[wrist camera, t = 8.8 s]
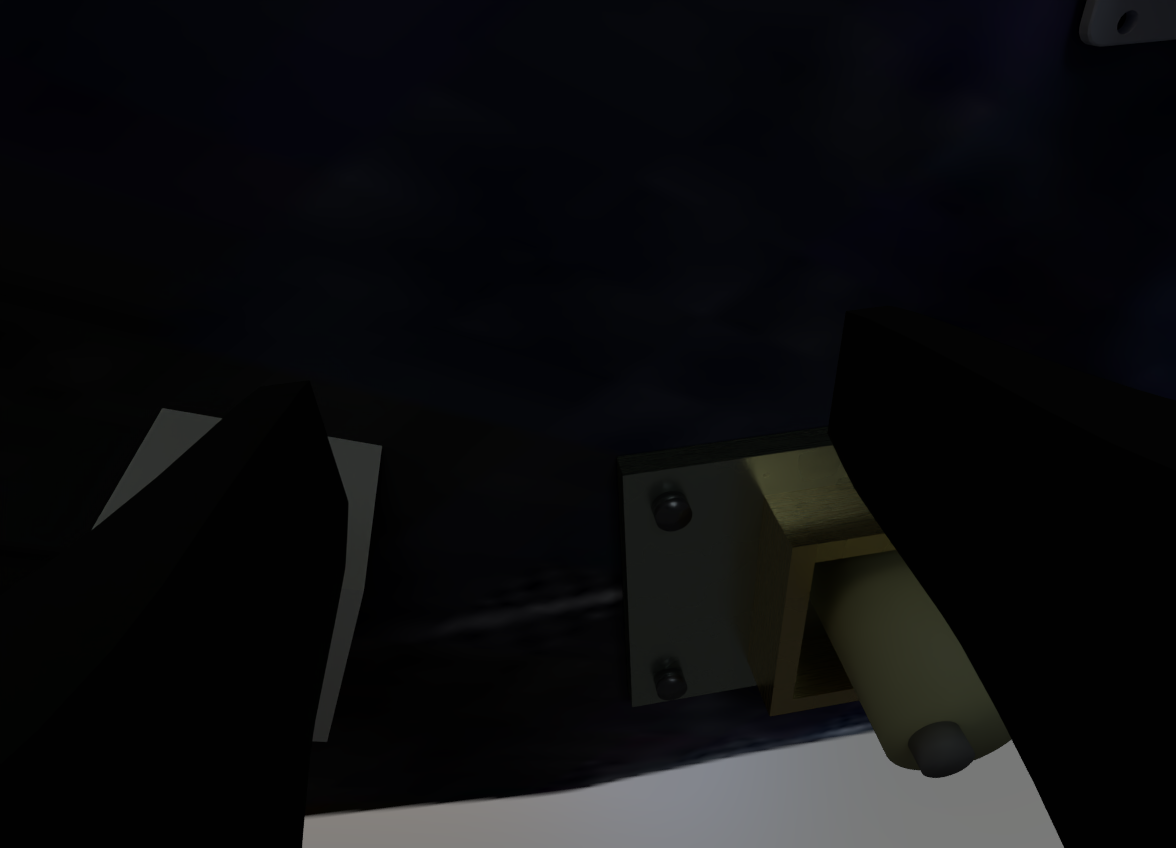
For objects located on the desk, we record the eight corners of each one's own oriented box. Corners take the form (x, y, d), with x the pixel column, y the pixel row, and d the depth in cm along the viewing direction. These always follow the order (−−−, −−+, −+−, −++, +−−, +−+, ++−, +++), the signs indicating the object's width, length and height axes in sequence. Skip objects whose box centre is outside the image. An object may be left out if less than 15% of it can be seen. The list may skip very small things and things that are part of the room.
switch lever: (907, 500, 26) (1038, 680, 20) (939, 574, 28) (1065, 754, 22) (785, 559, 26) (876, 748, 21) (827, 626, 29) (919, 812, 23)
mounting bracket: (1075, 391, 25) (1154, 451, 23) (988, 623, 32) (1040, 692, 29) (616, 456, 24) (639, 529, 21) (627, 686, 31) (645, 764, 28)
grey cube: (350, 583, 25) (327, 743, 21) (156, 560, 24) (79, 730, 19) (382, 443, 22) (364, 591, 18) (163, 405, 21) (73, 559, 16)
